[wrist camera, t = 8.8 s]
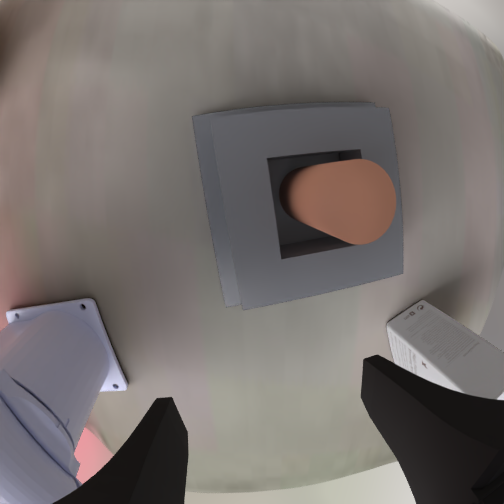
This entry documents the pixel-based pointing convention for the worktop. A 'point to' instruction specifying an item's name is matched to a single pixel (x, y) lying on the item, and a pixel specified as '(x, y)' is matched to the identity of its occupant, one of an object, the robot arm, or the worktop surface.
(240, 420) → the worktop surface
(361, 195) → the peg
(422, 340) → the skincare box
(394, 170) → the socket block
